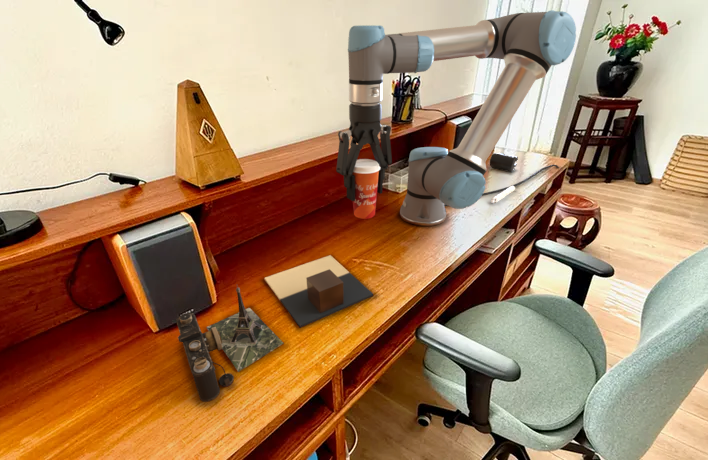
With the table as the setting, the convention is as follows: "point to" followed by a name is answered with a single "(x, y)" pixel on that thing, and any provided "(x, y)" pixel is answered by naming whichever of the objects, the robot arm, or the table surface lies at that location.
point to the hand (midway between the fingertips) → (364, 195)
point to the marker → (502, 194)
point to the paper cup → (365, 188)
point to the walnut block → (325, 290)
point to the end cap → (503, 162)
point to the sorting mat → (295, 295)
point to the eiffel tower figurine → (245, 336)
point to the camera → (202, 356)
